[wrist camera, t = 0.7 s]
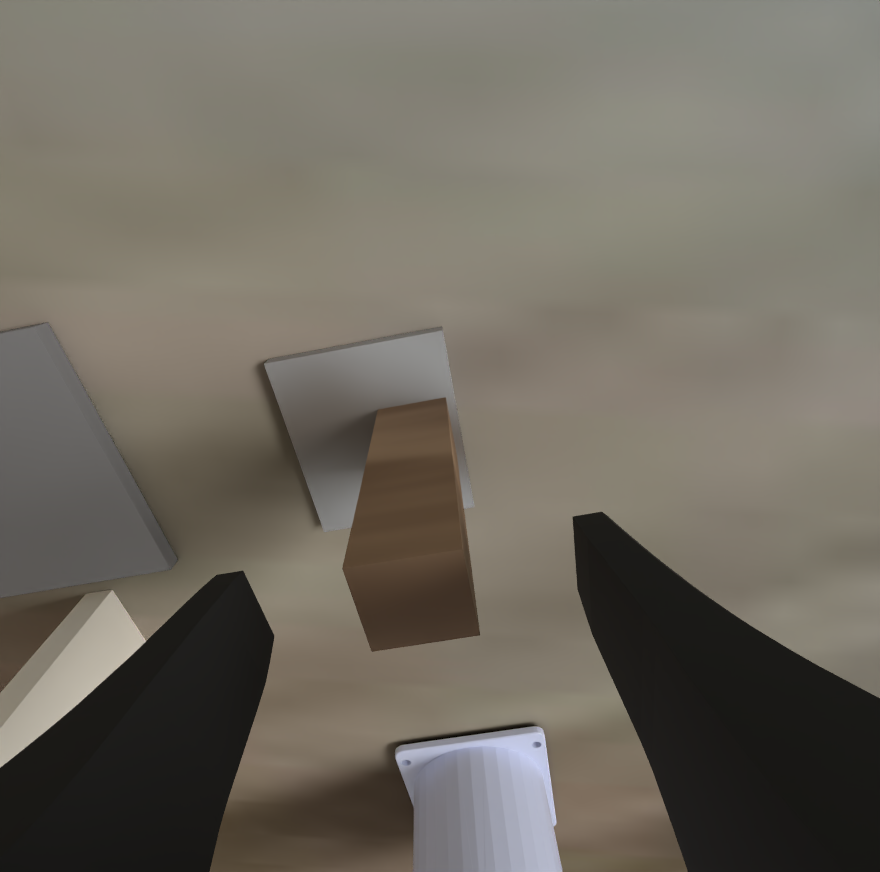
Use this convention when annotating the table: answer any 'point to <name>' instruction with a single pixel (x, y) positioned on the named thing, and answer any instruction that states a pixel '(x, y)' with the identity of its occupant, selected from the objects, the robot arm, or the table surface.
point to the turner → (387, 479)
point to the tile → (66, 669)
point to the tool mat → (63, 479)
